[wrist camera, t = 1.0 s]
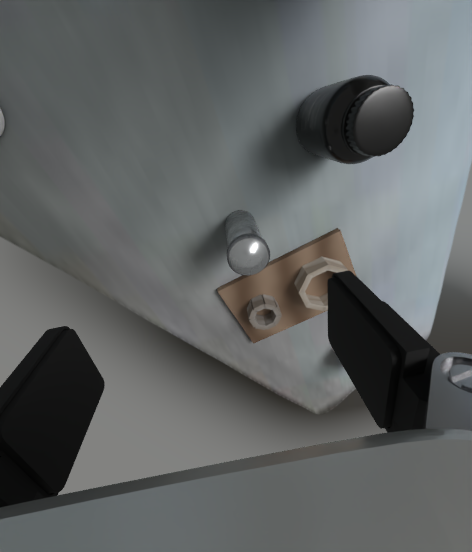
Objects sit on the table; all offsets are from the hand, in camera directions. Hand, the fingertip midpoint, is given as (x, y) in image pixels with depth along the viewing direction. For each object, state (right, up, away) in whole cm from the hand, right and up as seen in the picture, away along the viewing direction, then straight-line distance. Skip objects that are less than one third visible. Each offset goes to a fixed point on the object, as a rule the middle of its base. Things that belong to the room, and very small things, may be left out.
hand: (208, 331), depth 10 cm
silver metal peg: (+2, +9, +26) cm, 28 cm away
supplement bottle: (+11, +20, +21) cm, 31 cm away
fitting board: (+9, 0, +32) cm, 33 cm away
